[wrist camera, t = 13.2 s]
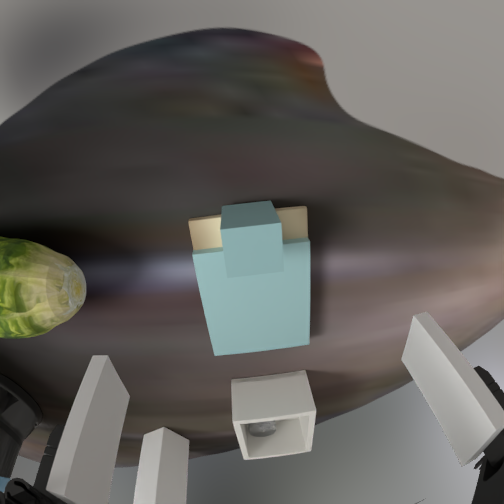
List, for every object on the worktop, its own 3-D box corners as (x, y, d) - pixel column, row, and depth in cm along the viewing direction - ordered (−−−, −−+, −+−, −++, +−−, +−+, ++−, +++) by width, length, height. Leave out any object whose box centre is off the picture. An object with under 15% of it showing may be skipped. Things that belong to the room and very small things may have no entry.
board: (214, 339, 34) (213, 344, 34) (189, 218, 28) (188, 221, 27) (306, 328, 35) (307, 332, 34) (304, 205, 28) (307, 208, 28)
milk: (143, 434, 44) (127, 540, 24) (164, 425, 42) (151, 542, 23) (169, 447, 46) (160, 548, 26) (190, 440, 45) (185, 549, 25)
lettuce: (112, 305, 32) (78, 376, 21) (-4, 301, 31) (-44, 350, 20) (89, 209, 27) (28, 260, 17) (-29, 227, 26) (-83, 266, 15)
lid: (214, 349, 34) (213, 388, 29) (186, 210, 27) (175, 235, 21) (307, 338, 34) (319, 375, 29) (306, 197, 27) (325, 218, 22)
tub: (241, 424, 43) (244, 459, 36) (231, 379, 38) (232, 421, 31) (303, 416, 43) (311, 451, 37) (305, 369, 38) (316, 410, 32)
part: (247, 421, 41) (248, 437, 39) (248, 408, 40) (249, 424, 37) (272, 421, 42) (274, 436, 39) (275, 407, 40) (277, 423, 37)
